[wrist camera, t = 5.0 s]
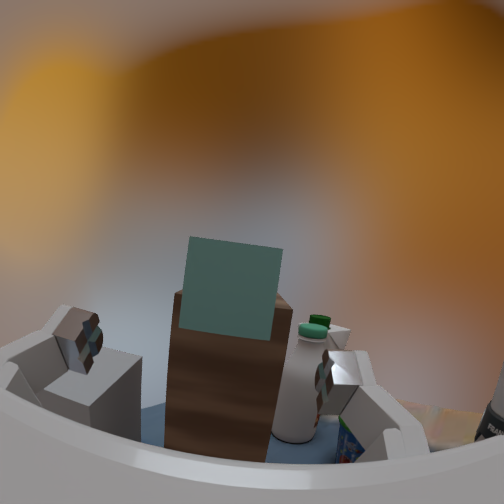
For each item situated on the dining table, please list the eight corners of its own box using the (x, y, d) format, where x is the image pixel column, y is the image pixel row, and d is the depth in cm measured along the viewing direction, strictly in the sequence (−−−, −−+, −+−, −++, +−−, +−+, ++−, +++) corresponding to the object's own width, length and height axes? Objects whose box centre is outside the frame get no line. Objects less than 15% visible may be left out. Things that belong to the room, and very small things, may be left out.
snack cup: (328, 439, 45) (342, 389, 45) (386, 446, 42) (403, 396, 42) (318, 494, 30) (338, 435, 30) (393, 500, 27) (421, 442, 27)
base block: (107, 524, 19) (89, 406, 19) (29, 490, 19) (1, 369, 19) (141, 459, 33) (142, 356, 33) (77, 438, 33) (71, 337, 33)
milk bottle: (303, 449, 41) (329, 334, 42) (262, 434, 45) (281, 323, 46) (320, 430, 48) (343, 327, 48) (282, 418, 52) (301, 318, 52)
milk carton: (279, 404, 59) (295, 312, 59) (308, 395, 64) (324, 311, 64) (310, 421, 52) (330, 321, 52) (338, 410, 57) (358, 319, 58)
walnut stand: (244, 546, 20) (293, 309, 20) (165, 534, 20) (174, 293, 20) (244, 465, 36) (272, 287, 36) (187, 457, 36) (205, 278, 36)
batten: (269, 340, 11) (282, 249, 12) (178, 327, 11) (189, 236, 11) (254, 287, 33) (259, 255, 34) (222, 283, 33) (226, 250, 33)
